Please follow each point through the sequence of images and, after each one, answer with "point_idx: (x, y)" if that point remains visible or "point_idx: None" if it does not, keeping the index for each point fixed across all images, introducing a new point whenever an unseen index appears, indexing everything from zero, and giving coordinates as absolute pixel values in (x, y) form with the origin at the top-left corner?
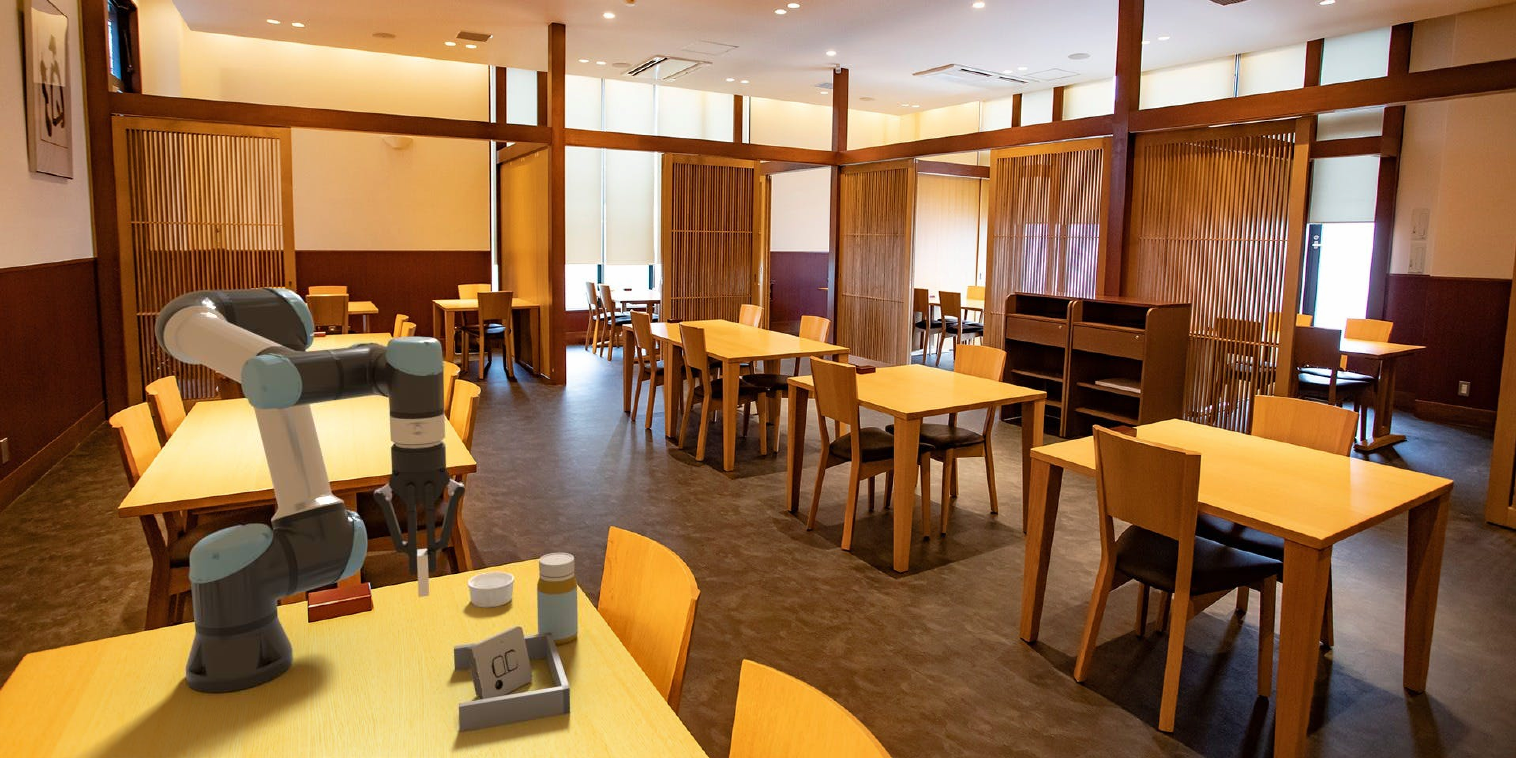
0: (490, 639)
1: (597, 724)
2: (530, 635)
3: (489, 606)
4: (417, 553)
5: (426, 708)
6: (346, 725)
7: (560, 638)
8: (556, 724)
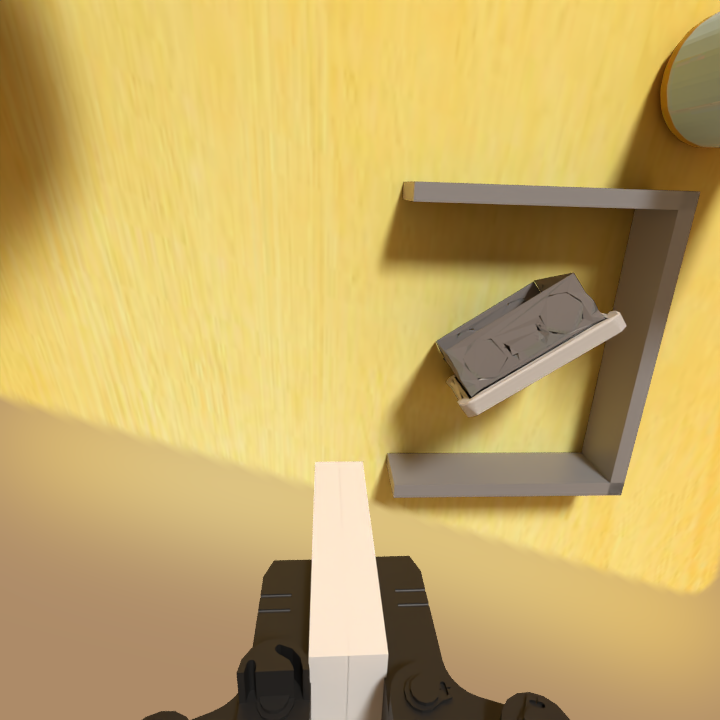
0: (519, 390)
1: (619, 512)
2: (639, 191)
3: None
4: (312, 717)
5: (328, 358)
6: (164, 372)
7: (710, 146)
8: None
